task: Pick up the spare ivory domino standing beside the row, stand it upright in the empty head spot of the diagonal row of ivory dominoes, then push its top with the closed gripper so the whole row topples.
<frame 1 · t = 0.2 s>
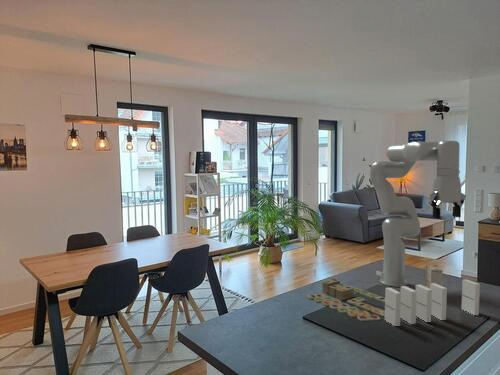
hand: (446, 217, 143), 36 cm above the counter, tool pointing down, fingers open, 9 cm apart
pile of dominoes: (356, 304, 152), on the counter
domino 5: (392, 323, 132), on the counter
supplement box: (433, 297, 159), on the counter
domino 2: (437, 317, 137), on the counter
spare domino: (469, 312, 142), on the counter
domino 4: (407, 321, 134), on the counter
domino 3: (422, 319, 136), on the counter
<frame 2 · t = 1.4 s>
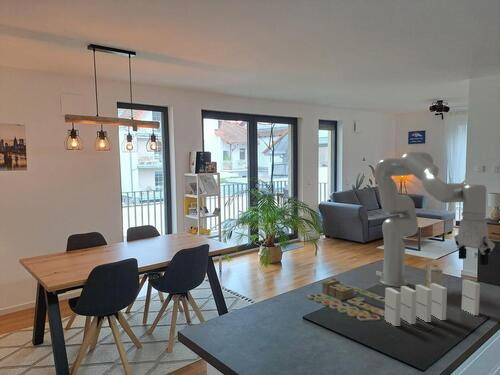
hand: (472, 261, 141), 20 cm above the counter, tool pointing down, fingers open, 9 cm apart
nothing on the counter moved.
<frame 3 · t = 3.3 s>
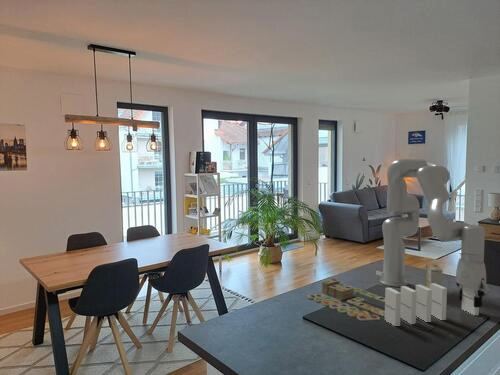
hand: (470, 303, 142), 4 cm above the counter, tool pointing down, fingers closed on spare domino, 5 cm apart
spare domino: (469, 312, 142), on the counter, touching gripper
everything else where it was.
when the fingers open (4 cm above the counter, at t = 10.5 s): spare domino stays where it is, on the counter.
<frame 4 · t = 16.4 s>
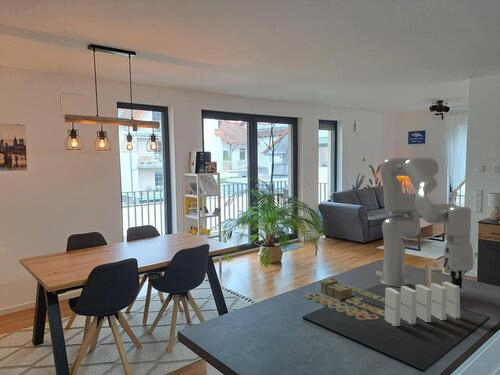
hand: (456, 287, 139), 11 cm above the counter, tool pointing down, fingers closed
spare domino: (451, 315, 139), on the counter
everything else where it was.
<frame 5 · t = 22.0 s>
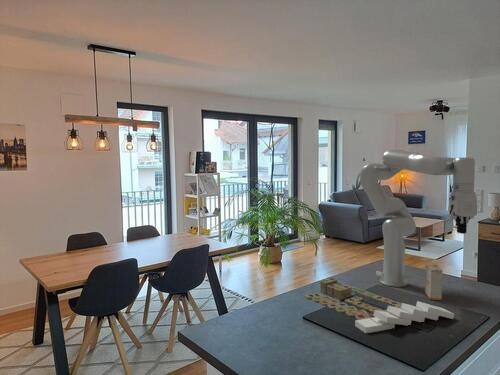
hand: (461, 232, 150), 29 cm above the counter, tool pointing down, fingers closed
domino 5: (388, 322, 131), point 1 cm above the counter, tilted 89°
domino 2: (431, 314, 137), point 1 cm above the counter, tilted 71°, touching domino 3, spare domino
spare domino: (447, 313, 139), point 1 cm above the counter, tilted 72°, touching domino 2
domino 4: (403, 319, 133), point 1 cm above the counter, tilted 74°, touching domino 3
domino 3: (417, 317, 135), point 1 cm above the counter, tilted 71°, touching domino 2, domino 4
at the end: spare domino inside the target area (1.6 cm from its centre), point 0.9 cm above the counter; domino 3 tilted 71°; domino 5 tilted 89° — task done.
